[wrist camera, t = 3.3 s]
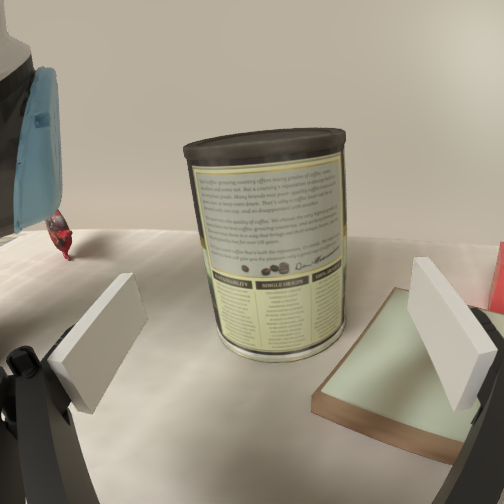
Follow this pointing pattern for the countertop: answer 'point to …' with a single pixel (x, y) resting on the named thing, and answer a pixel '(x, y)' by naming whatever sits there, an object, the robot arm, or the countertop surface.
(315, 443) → the countertop surface
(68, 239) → the decorative bird figurine
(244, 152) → the coffee can
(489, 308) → the red cube
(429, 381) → the green brown wooden board
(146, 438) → the countertop surface
